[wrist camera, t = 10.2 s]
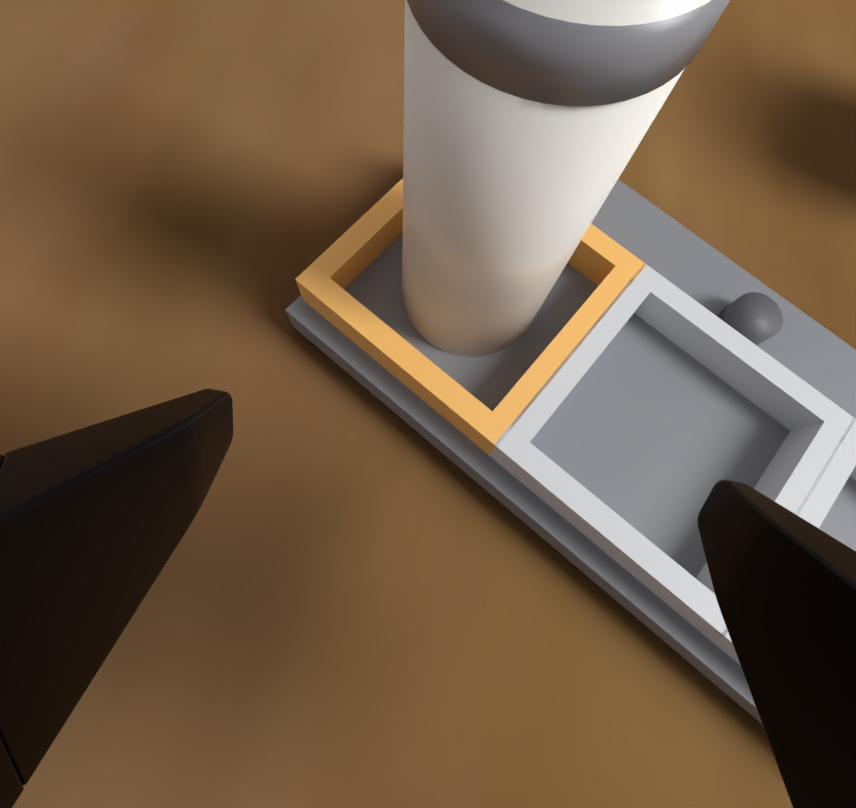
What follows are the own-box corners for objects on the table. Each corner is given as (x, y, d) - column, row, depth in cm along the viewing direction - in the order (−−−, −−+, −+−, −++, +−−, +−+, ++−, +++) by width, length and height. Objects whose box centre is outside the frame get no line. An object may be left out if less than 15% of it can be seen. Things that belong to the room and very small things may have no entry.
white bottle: (442, 381, 18) (544, 6, 5) (376, 265, 19) (331, -278, 6) (563, 320, 19) (897, -126, 6) (494, 212, 20) (659, -357, 7)
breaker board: (881, 826, 16) (985, 886, 13) (293, 327, 20) (275, 289, 17) (1027, 512, 20) (1137, 506, 17) (499, 127, 23) (514, 66, 20)
